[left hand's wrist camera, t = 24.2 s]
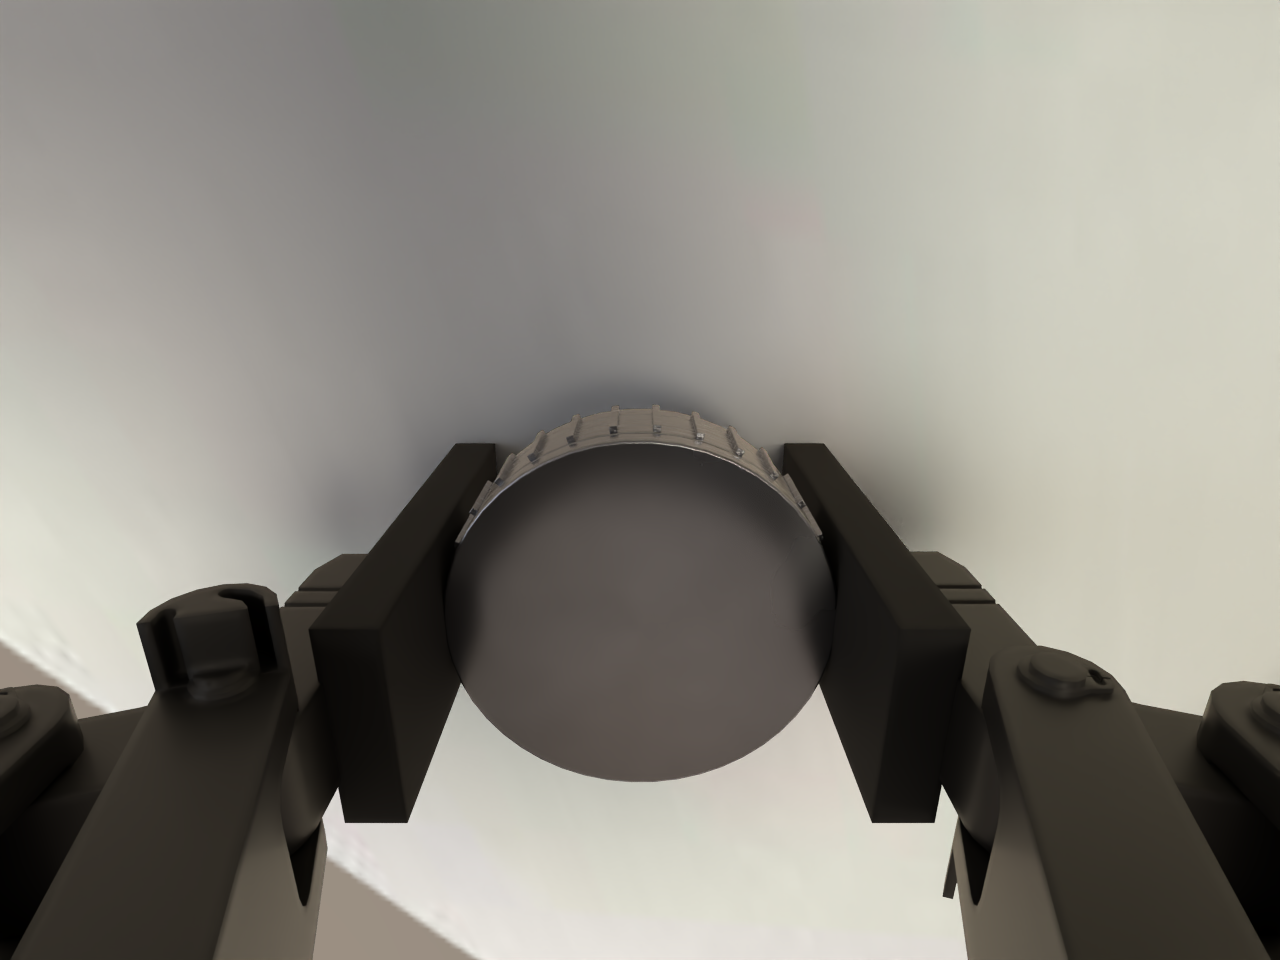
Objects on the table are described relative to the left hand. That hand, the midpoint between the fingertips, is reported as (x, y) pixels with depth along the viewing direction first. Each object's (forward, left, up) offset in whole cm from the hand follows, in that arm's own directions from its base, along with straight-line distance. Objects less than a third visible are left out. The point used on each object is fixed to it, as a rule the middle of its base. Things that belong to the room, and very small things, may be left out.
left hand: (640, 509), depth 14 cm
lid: (0, 0, +4) cm, 4 cm away
